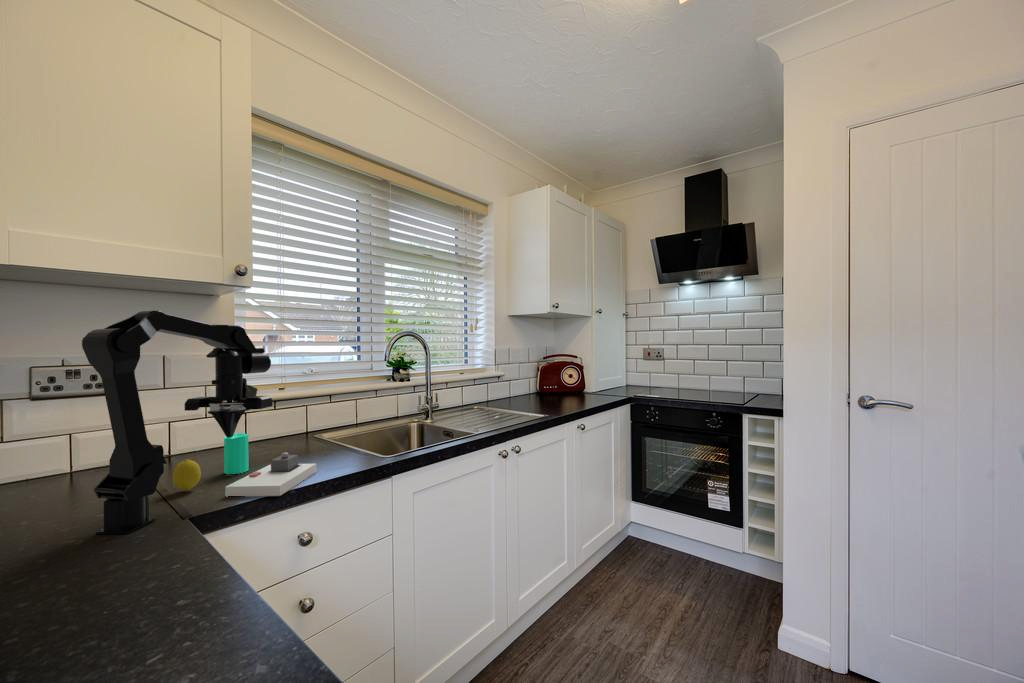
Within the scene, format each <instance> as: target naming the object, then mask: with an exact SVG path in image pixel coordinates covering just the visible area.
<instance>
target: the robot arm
mask: <svg viewBox="0 0 1024 683" xmlns="http://www.w3.org/2000/svg"><path fill="white" fill-rule="evenodd" d="M157 332H159V333H164V334H168V335H174V336H180V337H184V338H190V339H194V340H199V341H201V342H203V343H204V344H206V345H208V346H210V347H214V348H212V350H211V351H209V353H207V354H206V356H205V357H206V358H208V359H209V358H210V359H211V358H215V359H214V360H215V362H214V363H215V364H214V365H215V366H214V367H215V368H214V369H215V377H214V378H215V379H212V380H211V385H215V396H197V397H193V398H192V397H191V398H188V399H187V400H185V402H184V411H189V412H190V411H199V409H200V408H209V411H207V414H210V415H211V416H212V417H213V418H214V420H215V421H216V422H217V423H218V425H219V426H220V428H221V430H222V431H223V433H224V436H226V437H227V438H231V437H233V435H234V434H235V433H236V429H237V427H238V424H239V421H240V419H241V418H242V416H243V415H244V413H245V412H246V411H250V410H263V409H266V408H270V407H273V399H272V396H270V395H257V393H258V388H257V387H255V386H252V385H250V384H247V378H245V377H244V376H243V375H249V374H261V373H266V372H267V371H268V370H270V368H271V367H272V366H271V365H272V360H271V359H270V356H269V354H268V353H266V352H265V350H266V349H265V347H257V348H256V346H255V345H254V343H253V341H252V340H251V338H250V336H249V335H248V334H247V331H246V329H245V327H243V326H241V325H237V324H211V323H208V322H207V323H206V322H203V321H199V320H198V321H197V320H195V319H190V318H187V317H186V318H184V317H181V316H177V315H173V314H169V313H165V312H162V311H161V310H142V311H139V312H137V313H135V314H133V315H131V316H130V317H127V318H125V319H123V320H120V321H118V322H116V323H113V324H111V325H108V326H107V327H105V328H98V329H92V330H90V332H88V333H87V334H86V335H85V336H84V337H82V340H81V348H82V350H83V352H84V354H85V356H86V358H87V361H88V363H89V364H90V366H91V367H92V368H94V370H95V371H96V372H97V373H98V375H99V376H100V378H101V382H102V387H103V392H104V397H105V401H106V402H105V403H106V406H107V411H108V416H109V422H110V426H111V430H112V431H111V432H112V435H113V440H114V448H113V451H112V453H111V456H110V458H109V467H108V468H109V470H108V471H109V472H108V474H106V475H105V476H104V477H103V479H101V481H100V482H99V483H98V484H97V485H96V487H94V489H93V492H94V494H95V496H96V498H97V499H106V500H104V501H103V527H102V528H100V529H98V530H97V529H96V530H95V532H94V533H95V535H105V534H106V535H108V534H109V535H113V534H120V535H121V534H129V533H132V532H134V531H136V530H138V529H140V528H142V527H144V526H146V525H149V524H150V523H152V522H154V521H156V517H149V516H150V515H149V514H150V513H149V512H150V510H149V509H150V504H149V500H150V498H149V496H152V495H154V494H155V492H156V489H157V487H158V485H159V484H158V483H159V481H160V478H161V477H162V475H163V474H164V472H165V465H167V464H168V462H167V461H166V460H165V456H164V447H163V445H161V444H152V443H151V442H150V441H149V439H148V436H147V430H146V425H145V420H144V416H143V415H144V414H143V411H142V410H143V409H142V405H141V399H140V394H139V390H138V384H137V379H136V374H135V372H136V371H135V370H136V368H137V366H138V364H139V361H140V359H141V346H142V345H144V344H147V342H149V341H150V340H152V339H153V337H154V336H155V334H156V333H157Z"/></svg>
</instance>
